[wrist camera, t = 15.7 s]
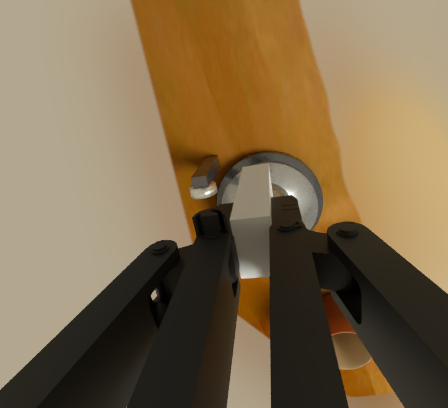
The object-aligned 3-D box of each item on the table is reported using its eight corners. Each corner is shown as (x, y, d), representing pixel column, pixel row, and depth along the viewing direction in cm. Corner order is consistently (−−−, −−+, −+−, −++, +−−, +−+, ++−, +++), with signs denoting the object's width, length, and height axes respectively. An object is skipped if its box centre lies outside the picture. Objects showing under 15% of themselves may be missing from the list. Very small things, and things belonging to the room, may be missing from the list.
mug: (343, 280, 54) (358, 324, 45) (365, 311, 56) (384, 359, 47) (286, 305, 58) (289, 350, 49) (309, 333, 60) (317, 381, 51)
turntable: (204, 203, 49) (199, 213, 46) (271, 140, 43) (271, 146, 40) (285, 277, 53) (286, 291, 50) (356, 228, 47) (363, 241, 44)
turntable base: (209, 159, 48) (207, 162, 46) (318, 143, 44) (319, 145, 43) (227, 248, 54) (226, 252, 53) (323, 240, 51) (325, 244, 50)
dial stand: (200, 157, 48) (183, 180, 38) (222, 154, 47) (210, 177, 37) (204, 174, 49) (188, 200, 39) (225, 171, 48) (215, 197, 38)
